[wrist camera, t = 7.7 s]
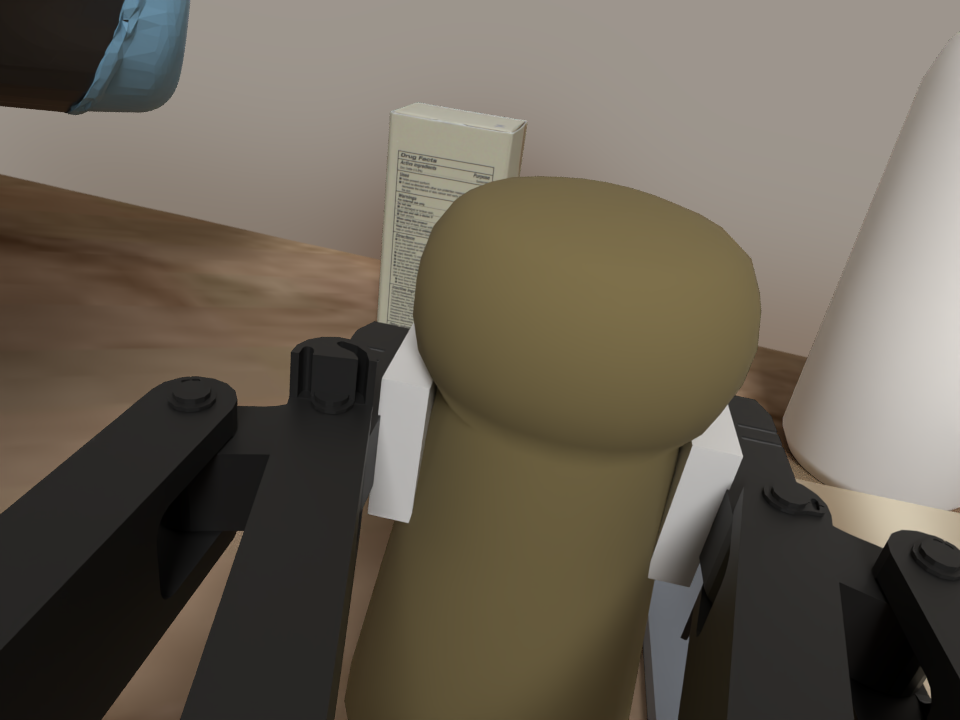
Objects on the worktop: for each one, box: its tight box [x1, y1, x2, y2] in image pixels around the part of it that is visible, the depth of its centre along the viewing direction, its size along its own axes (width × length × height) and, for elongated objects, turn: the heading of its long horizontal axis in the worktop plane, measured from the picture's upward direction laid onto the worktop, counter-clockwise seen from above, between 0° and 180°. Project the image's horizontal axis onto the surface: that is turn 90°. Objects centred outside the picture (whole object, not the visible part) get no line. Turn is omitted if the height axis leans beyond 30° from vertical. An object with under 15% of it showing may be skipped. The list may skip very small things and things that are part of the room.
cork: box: [345, 176, 761, 720], centre depth 13 cm, size 6×6×11 cm
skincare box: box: [377, 102, 527, 329], centre depth 38 cm, size 6×4×12 cm
